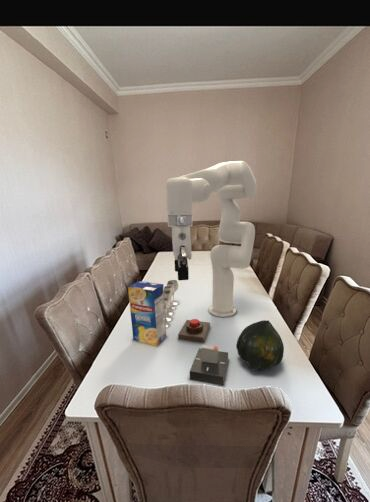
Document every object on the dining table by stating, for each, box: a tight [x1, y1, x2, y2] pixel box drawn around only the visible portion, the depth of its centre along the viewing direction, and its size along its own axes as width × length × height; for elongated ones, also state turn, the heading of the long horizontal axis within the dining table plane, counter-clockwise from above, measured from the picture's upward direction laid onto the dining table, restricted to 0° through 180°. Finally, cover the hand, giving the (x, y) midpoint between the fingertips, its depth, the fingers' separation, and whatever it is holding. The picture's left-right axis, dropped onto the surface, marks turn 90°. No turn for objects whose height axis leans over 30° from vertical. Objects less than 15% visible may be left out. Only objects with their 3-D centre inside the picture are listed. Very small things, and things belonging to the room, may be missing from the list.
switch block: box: [177, 319, 211, 344], centre depth 100 cm, size 12×10×4 cm
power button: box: [189, 318, 200, 327], centre depth 99 cm, size 4×4×2 cm
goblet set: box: [164, 279, 179, 329], centre depth 115 cm, size 28×6×13 cm, turn 172°
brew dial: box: [201, 344, 219, 364], centre depth 78 cm, size 5×2×5 cm, turn 74°
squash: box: [235, 319, 285, 372], centre depth 80 cm, size 14×15×15 cm
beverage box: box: [127, 280, 167, 347], centre depth 94 cm, size 7×11×22 cm, turn 65°
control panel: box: [189, 347, 229, 386], centre depth 79 cm, size 12×10×3 cm
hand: (181, 275), depth 80 cm, fingers open, 9 cm apart
